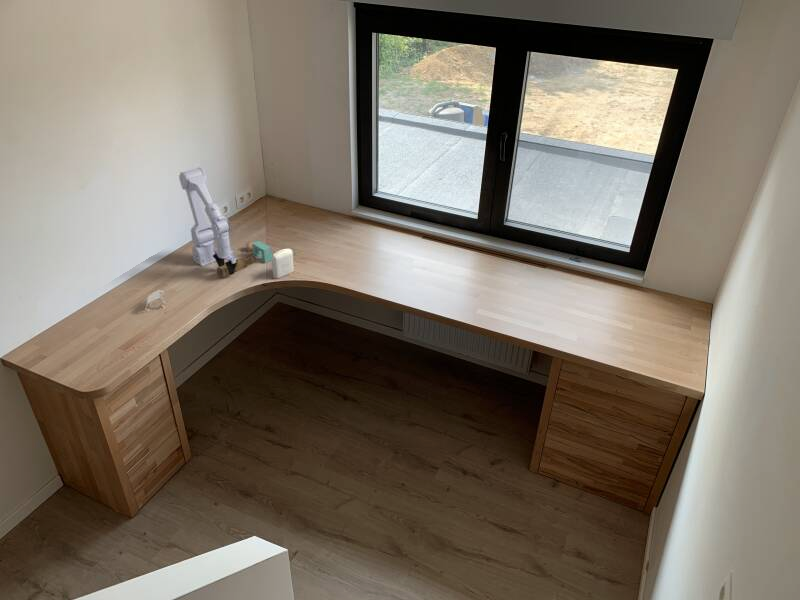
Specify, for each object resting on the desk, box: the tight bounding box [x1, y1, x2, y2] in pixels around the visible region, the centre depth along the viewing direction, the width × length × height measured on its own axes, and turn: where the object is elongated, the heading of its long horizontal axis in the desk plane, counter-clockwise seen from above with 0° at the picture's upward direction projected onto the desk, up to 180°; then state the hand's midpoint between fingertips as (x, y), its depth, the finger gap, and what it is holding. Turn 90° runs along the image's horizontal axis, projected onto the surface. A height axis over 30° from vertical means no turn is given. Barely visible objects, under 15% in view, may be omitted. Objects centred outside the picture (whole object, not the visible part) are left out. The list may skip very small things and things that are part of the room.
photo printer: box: [271, 248, 295, 279], centre depth 280 cm, size 10×4×12 cm, turn 135°
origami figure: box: [144, 289, 166, 313], centre depth 258 cm, size 12×8×5 cm
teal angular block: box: [252, 240, 273, 264], centre depth 292 cm, size 4×9×7 cm, turn 48°
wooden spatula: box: [216, 255, 254, 279], centre depth 284 cm, size 18×3×4 cm, turn 138°
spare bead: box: [245, 241, 255, 253], centre depth 299 cm, size 4×4×4 cm
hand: (226, 271), depth 281 cm, fingers open, 7 cm apart
